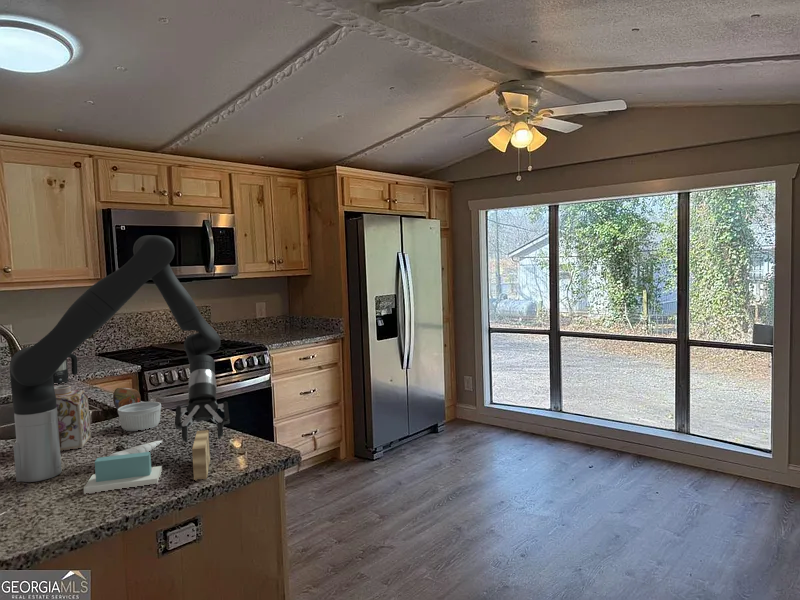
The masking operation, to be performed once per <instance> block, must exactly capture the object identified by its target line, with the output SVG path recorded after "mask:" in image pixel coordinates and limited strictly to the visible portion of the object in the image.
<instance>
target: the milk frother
mask: <svg viewBox="0 0 800 600" xmlns="http://www.w3.org/2000/svg"><path fill="white" fill-rule="evenodd" d="M68 358H70V359H71V361H70V362H71V374H72V375H73V376H75V375H78V357H77V355H76V354H74V353H73V352H72V353H71V354H70V355H69V357H68ZM68 358H67V359H66V360H65V361H64V362H63V363H62V365H61V366H60V367H59V368H58V369H57V371H56V372H55V373H54V374H53V382H54V383H62V382H66V383H68V382H69V379H68V378H69V372H68Z"/></svg>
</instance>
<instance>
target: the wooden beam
mask: <svg viewBox="0 0 800 600" xmlns="http://www.w3.org/2000/svg"><path fill="white" fill-rule="evenodd" d="M191 453H192V468H193V470H192V472H193V481H194V480H195V481H198V480H197V479H203V480H207V479H208V476H209V475H208V474H209V467H210V461H211V449H210V431H209V429H202V430H196V434H195V437H194V441H193V444H192V448H191Z"/></svg>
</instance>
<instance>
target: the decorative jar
mask: <svg viewBox="0 0 800 600" xmlns="http://www.w3.org/2000/svg"><path fill="white" fill-rule="evenodd" d="M54 390H55V395H56V402H57V416H58V429H59V442H60V452H63V450H64V451H70V449H73V450H79V449H78V448H81V449H83V447H85V445H86V444H87V442H88V441H89V440H90V439H91V436H92V435H91V432H92V431H91V420H90V418H91V417H90V407H89V396H88V395H87V393H86V392H85V390H83V389H82V390H81V389H72V386H71V385H69V384H67V385H65V384H64V385H63V384H62V385H57V386H54Z"/></svg>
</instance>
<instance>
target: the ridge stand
mask: <svg viewBox="0 0 800 600" xmlns="http://www.w3.org/2000/svg"><path fill="white" fill-rule="evenodd" d="M151 457H152V455H151V451H150V452H143V453H134V454H126V455H117V456H109V455H108V456H101V457H97V458H96V459H95V461H94V471H95V474H92V475H91V477H90V478H89V480H87V482H86V484H85V485H84V487H83V494H84V495H87V494H86V493H89V494H95V492H97V493H102V492H101V491H105V492H109V491H108V490H112V491H115V490H114V489H120V490H123V489H122V488H127V489H130V488H129V487H135V488H138V487H137V486H143V487H145V486H144V485H149V484H155V483H158V484H159V482H158V480H159V481H160V479H159V477H160V478H161V476H160V475H162V473H163V466H162V465H159V466H152V459H151ZM161 472H162V473H161Z"/></svg>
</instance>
